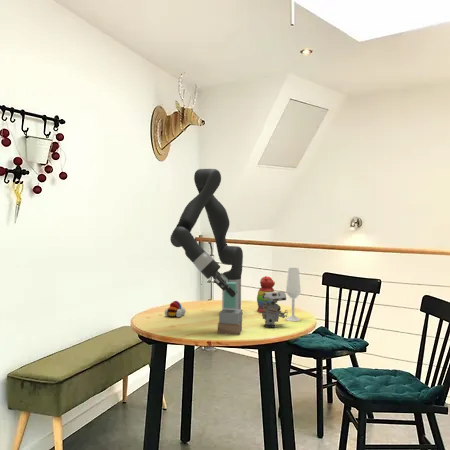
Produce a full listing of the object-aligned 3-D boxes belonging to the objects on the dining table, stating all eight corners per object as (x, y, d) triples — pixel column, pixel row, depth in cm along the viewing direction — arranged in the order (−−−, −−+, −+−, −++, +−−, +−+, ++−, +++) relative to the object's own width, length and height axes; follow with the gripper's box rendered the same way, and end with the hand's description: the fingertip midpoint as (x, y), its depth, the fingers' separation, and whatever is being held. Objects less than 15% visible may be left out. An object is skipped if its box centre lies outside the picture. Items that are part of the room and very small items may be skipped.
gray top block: (223, 319, 203) (223, 308, 203) (242, 320, 201) (242, 309, 201) (219, 323, 195) (219, 312, 195) (238, 324, 193) (238, 313, 193)
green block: (225, 305, 201) (225, 281, 201) (236, 305, 200) (236, 282, 200) (224, 307, 196) (224, 283, 196) (235, 308, 196) (235, 283, 195)
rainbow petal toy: (162, 317, 225) (162, 302, 225) (170, 313, 234) (171, 298, 234) (179, 318, 223) (179, 303, 222) (187, 314, 232) (187, 299, 232)
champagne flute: (283, 319, 222) (283, 268, 222) (290, 317, 227) (291, 267, 227) (295, 321, 218) (295, 269, 217) (303, 319, 223) (303, 268, 222)
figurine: (288, 328, 205) (288, 293, 204) (261, 327, 206) (262, 293, 205) (287, 323, 214) (287, 290, 214) (261, 323, 215) (262, 289, 214)
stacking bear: (276, 314, 234) (276, 278, 234) (255, 313, 236) (256, 277, 235) (277, 309, 245) (277, 275, 244) (257, 309, 246) (258, 274, 246)
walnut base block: (220, 329, 203) (220, 319, 203) (241, 330, 202) (241, 319, 202) (217, 334, 194) (217, 323, 194) (239, 335, 193) (239, 324, 193)
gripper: (210, 260, 192) (239, 291, 190) (215, 257, 206) (243, 286, 204) (197, 273, 193) (226, 304, 191) (203, 269, 207) (230, 297, 205)
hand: (234, 294), depth 198 cm, fingers closed on green block, 4 cm apart
